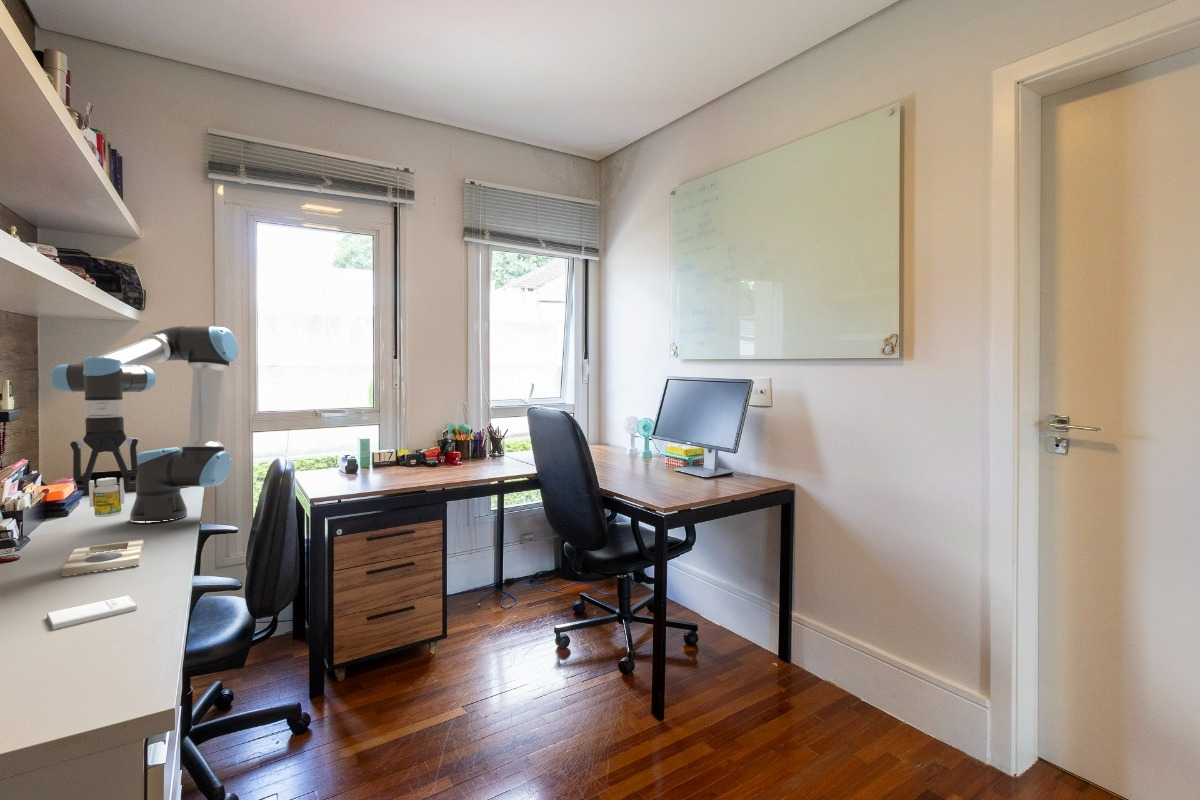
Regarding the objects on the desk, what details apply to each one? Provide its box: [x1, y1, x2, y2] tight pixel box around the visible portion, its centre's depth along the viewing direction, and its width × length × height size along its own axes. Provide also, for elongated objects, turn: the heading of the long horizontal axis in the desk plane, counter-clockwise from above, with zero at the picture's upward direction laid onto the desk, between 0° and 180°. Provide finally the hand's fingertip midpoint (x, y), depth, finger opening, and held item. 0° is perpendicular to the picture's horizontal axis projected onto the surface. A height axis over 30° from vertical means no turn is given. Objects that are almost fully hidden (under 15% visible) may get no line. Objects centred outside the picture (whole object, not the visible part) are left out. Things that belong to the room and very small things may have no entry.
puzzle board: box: [61, 539, 144, 577], centre depth 147 cm, size 20×14×2 cm
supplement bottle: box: [93, 477, 122, 518], centre depth 150 cm, size 5×5×10 cm
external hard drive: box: [46, 595, 138, 631], centre depth 114 cm, size 2×8×12 cm
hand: (107, 504), depth 150 cm, fingers closed on supplement bottle, 5 cm apart
